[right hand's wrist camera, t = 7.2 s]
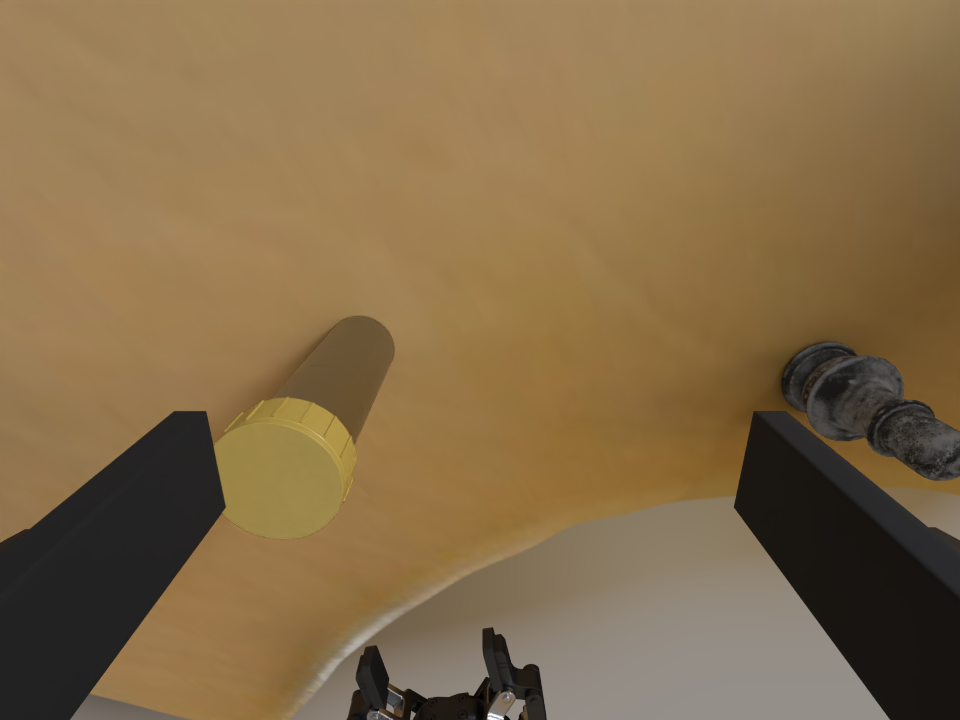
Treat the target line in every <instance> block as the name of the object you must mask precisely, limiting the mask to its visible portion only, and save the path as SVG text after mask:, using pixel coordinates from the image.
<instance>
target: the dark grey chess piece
mask: <svg viewBox="0 0 960 720" xmlns="http://www.w3.org/2000/svg"><path fill="white" fill-rule="evenodd" d="M903 391H904V383H903V380H902V376H901V374H900V372H899V371H898V370H897V368H896V367H895V366H894V365H893V364H891V363H890V362H888V361H887V360H885V359H882V358H879V357H875V356H857V355H856V353H855V352H854V351H853V350H852V349H850V348H849V347H847V346H846V345H843V344H840V343H836V342H824V343H819V344H815V345H813V346H810V347H808V348H806V349H804V350H803V351H802V352H800V353H799V354H798V355H796V356H795V357H794V359H793V360H792V361H791V362H790V363H789V365H788V366H787V368H786V370H785V372H784V375H783V379H782V392H783V394H784V397H785V399H786V400H787V401H788V403H789V404H790V405H791V406H792V407H794V408H796V409H797V410H799V411H802V412H806V413H807V416H808V419H809V422H810V424H811V425H812V427H813V428H814V429H815V430H816V432H818V433H819V434H821V435H822V436H824V437H826V438H829V439H832V440H836V441H851V440H856V439H861V438H863V437H865V438H866V439H867V440H868V443H869V446H870V447H871V448H872V449H873V450H874V451H875V452H877V453H878V454H880V455H883V456H887V457H896V458H897V459H898V460H900V461H901V462H903V463H904V464H905V465H907V466H908V467H910V468H911V469H912V470H914V471H915V472H917V473H918V474H920V475H921V476H923V477H925V478H928V479H931V480H935V481H946V480H952V479H955V478H957V477H960V432H959V431H957V430H956V429H954V428H952V427H950V426H949V425H947V424H945V423H943V422H941V421H940V420H938V419H936V418H935V415H934V412H933V411H932V409H931V408H930V407H929V406H927V405H926V404H924V403H923V402H919V401H916V400H905V399H903Z"/></svg>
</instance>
